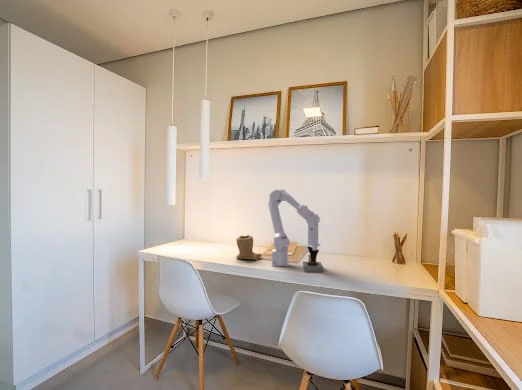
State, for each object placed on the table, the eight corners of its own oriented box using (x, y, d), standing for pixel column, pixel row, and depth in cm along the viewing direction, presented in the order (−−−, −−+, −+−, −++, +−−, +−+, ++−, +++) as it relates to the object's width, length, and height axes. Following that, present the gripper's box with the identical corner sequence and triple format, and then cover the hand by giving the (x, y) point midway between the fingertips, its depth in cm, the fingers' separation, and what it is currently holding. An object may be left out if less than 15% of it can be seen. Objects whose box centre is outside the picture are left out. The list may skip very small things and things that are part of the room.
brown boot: (232, 260, 175) (233, 236, 174) (240, 256, 186) (240, 233, 186) (255, 262, 170) (256, 237, 170) (262, 258, 181) (262, 234, 181)
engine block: (304, 271, 152) (304, 266, 152) (302, 266, 162) (302, 261, 162) (323, 272, 151) (323, 266, 151) (320, 267, 161) (320, 261, 161)
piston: (308, 265, 154) (309, 254, 154) (307, 262, 158) (307, 252, 158) (317, 265, 154) (317, 254, 154) (315, 262, 159) (315, 252, 159)
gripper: (322, 238, 149) (322, 264, 149) (318, 234, 163) (318, 257, 163) (308, 238, 149) (308, 264, 149) (306, 234, 163) (305, 257, 164)
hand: (312, 260), depth 156 cm, fingers closed on piston, 4 cm apart
